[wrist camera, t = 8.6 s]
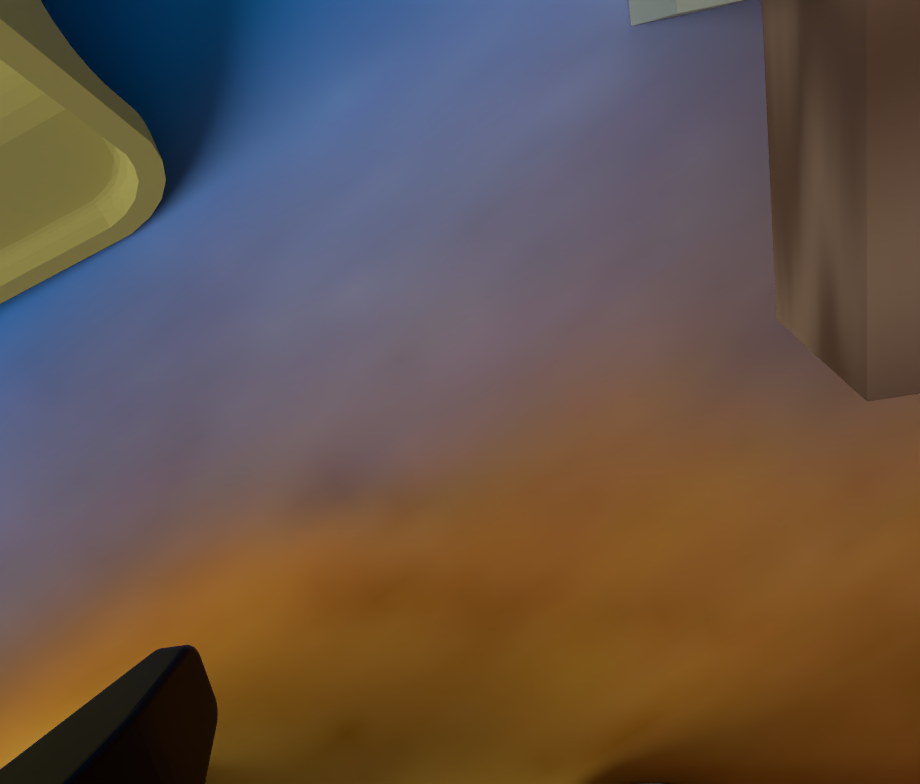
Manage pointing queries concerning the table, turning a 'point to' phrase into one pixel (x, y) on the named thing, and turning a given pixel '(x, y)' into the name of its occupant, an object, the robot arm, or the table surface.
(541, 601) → the table surface
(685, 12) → the posts
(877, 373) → the rail
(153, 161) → the plastic component
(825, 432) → the table surface
